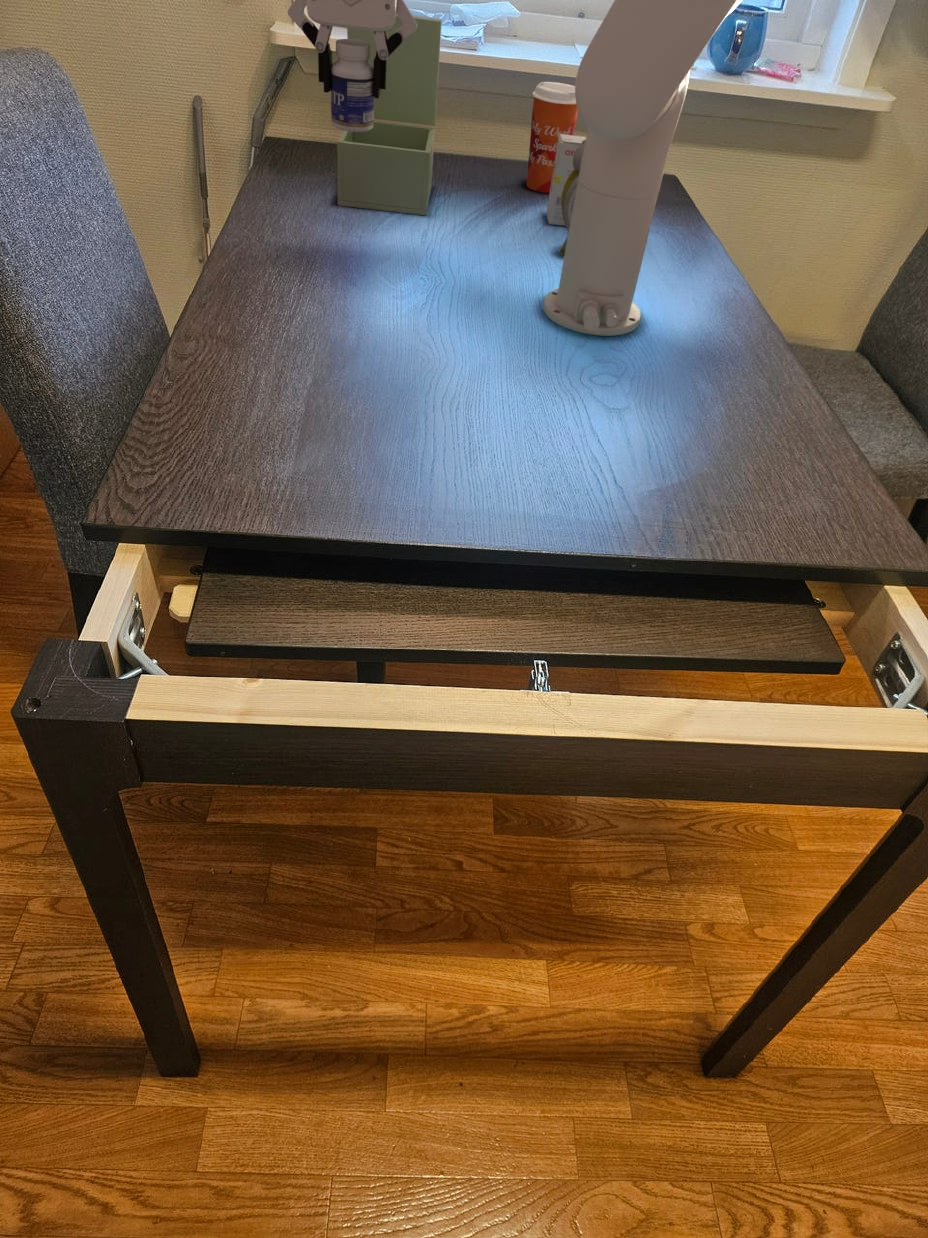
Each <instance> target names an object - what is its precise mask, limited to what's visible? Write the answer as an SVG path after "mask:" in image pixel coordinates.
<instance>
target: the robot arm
mask: <svg viewBox="0 0 928 1238" xmlns="http://www.w3.org/2000/svg"><path fill="white" fill-rule="evenodd" d="M742 2H743V0H614V1H613V2H612V5H611V6H610V8H609V9H608V11H607V13H606V14H605V17H604V18H603V20H602V22H601V24H600V26H599V27H598V29H597V30H596V32H595V34H594V35H593V37H592V39H591V40H590V43H589V45H588V46H587V48H586V49H585V51H584V54H583V56H582V58H581V61H580V63H579V66H578V69H577V72H576V78H575V83H574V84H575V85H574V86H575V98H576V104H577V108H578V114H579V115H580V119H581V120H582V123H584V125H585V126H586V127H587V133H586V136H585V137H586V141H585V146H584V151H583V155H582V160H581V166H580V171H579V177H578V182H577V188H576V193H575V199H574V205H573V210H572V216H571V221H570V227H569V232H568V234H567V237H568V238H567V237H566V238H567V244H566V250H565V253H564V254H563V255H564V256H563V261H562V267H561V273H560V278H559V284H558V288H556V289H553V290H551V291H550V292H548V293H547V294H546V295H545V296H544V299H543V306H542V308H543V312H544V313H545V315H546V316H547V318H549V320H551V321H552V322H554V323H555V324H557V325H559V326H561V327H563V328H565V329H568V330H570V331H573V332H577V333H581V334H584V335H585V334H586V335H590V336H599V337H600V336H601V337H613V336H621V335H625V334H628V333H631V332H633V331H634V330H636V329H637V328H638V327H639V326H640V325H641V324H640V323H641V319H642V311H641V309H640V308H639V306H637V304H636V303H635V302H633V301H634V296H635V294H636V293H635V292H636V288H637V286H638V285H637V284H638V281H639V275H640V272H641V267H642V263H643V259H644V254H645V252H646V247H647V242H648V238H649V235H650V230H651V226H652V222H653V218H654V213H655V209H656V205H657V202H658V197H659V193H660V189H661V185H662V182H663V177H664V174H665V169H666V165H667V161H668V157H669V154H670V150H671V146H672V143H673V139H674V135H675V132H676V129H677V126H678V123H679V119H680V116H681V113H682V111H683V107H684V103H685V100H686V95H687V91H688V86H689V81H690V75H691V69H692V68H693V66H694V65H695V64H696V62H697V60H698V59H699V57H700V56H701V55H702V53H703V52H704V50H705V49H706V47H707V46H708V44H709V43H710V41H711V40H712V38H713V36H714V35H715V33H716V32H717V31H718V30H719V28H720V26H721V25H722V23H723V22H724V20H725V19H726V17H727V16H729V15H730V14H732V12H734V10H736V8H737V7H738V6H739V5H740V4H741V3H742ZM305 8H306V11H307V15H306V13H305ZM287 15H288V16H289V18H290V19H291V20H292V21H293V23H295V25H296V26H298V28H300V30H301V31H302V32H303V34H304V36H305V37H306V38H307V39H308V41H309V42H310V43H311V44H312V46H313V47H314V49H315V51H316V52H317V62H318V63H317V65H318V67H317V68H318V71H317V72H318V83H323V93H327V94H328V93H331V66H332V64H333V63H334V62H333V50H332V48H331V44H330V43H329V42H330V39H331V36H332V31H333V27H336V28H344V29H347V28H352V29H361V30H370V31H373V36H374V40H375V44H376V48H377V52H376V56H375V59H374V70H373V97H375V98H379V97H380V94H381V89H386V76H387V58H388V57H389V55H390V54H391V53H392V52H393V51H394V50H395V49H396V48H397V47H398V46H399V45H400V44H401V43H402V42H403V41H404V40H406V39H407V38H408V37H409V36H410V35H411V34H413V33H414V32H415V31H416V29H417V23H416V21H415V19H414V18H413V16H414V15H413V14H412V12H411V11H410V9H409V7H408V6H407V4H406V3H405V1H404V0H294V1H293V2H292V4H291V5H290V6H289V8H288V9H287ZM397 15H398V16H399V18H400V20H401V21H402V26H401V27H400V28H399V29H398V30H397V31H395V32H394V33H393V34H392V35H391V36H390V37H389V38H387V34H386V30H389V29H391V28H392V27H393V25H394V24H395V21H396V17H397ZM314 23H316V24H319V28H318V27H317V26H316V25H315V24H314Z"/></svg>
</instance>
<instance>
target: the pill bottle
mask: <svg viewBox="0 0 928 1238" xmlns="http://www.w3.org/2000/svg"><path fill="white" fill-rule="evenodd" d="M335 56H336V57H337V60H335V61H334V62H333V64H332V66H331V91H330V121H331V125H332V126H333V128H335V129H338V130H341V131H343V130H344V131H350V132H364V131H369V130H371V129H372V128H373V122H374V121H375V119H374V97H373V70H374V69H373V67H372V66H371V65H370V64H368V62H367V60H368V59H369V56H370V44H369V43H367V42H365V41H361V40H355V39H347V38H339V39H336V41H335Z"/></svg>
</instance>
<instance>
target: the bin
mask: <svg viewBox="0 0 928 1238" xmlns="http://www.w3.org/2000/svg"><path fill="white" fill-rule="evenodd" d="M435 132H436V128H435V127H434V128H433V127H427V126H418V125H410V124H401V123H395V122H386V121H377V120H374V122H373V128H372V129H371V130H369V131H364V132H350V131H344V130H342V131H341V134H340V136H339V138H338V140H337V142H336V143H337V144H336V150H337V152H336V154H337V155H336V156H337V157H336V158H337V159H336V162H337V165H336V166H337V170H336V172H337V175H336V176H337V177H336V179H337V180H336V182H337V183H336V184H337V189H336V190H337V206H341V207H349V208H358V209H366V210H376V211H382V212H383V211H384V212H392V213H402V214H410V215H419V216H427V213H428V212H427V211H428V208H429V201H430V195H431V189H432V179H433V165H434V164H433V163H434V150H435V149H434V148H435Z"/></svg>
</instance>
